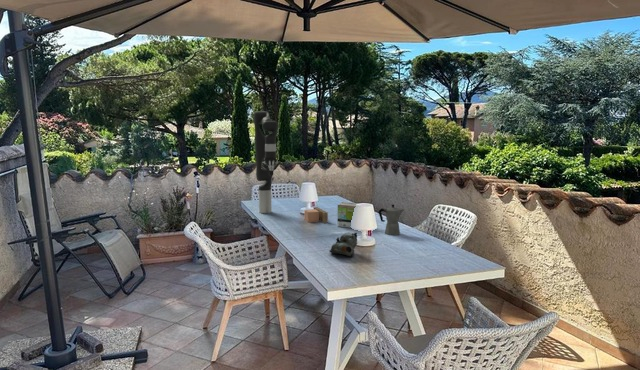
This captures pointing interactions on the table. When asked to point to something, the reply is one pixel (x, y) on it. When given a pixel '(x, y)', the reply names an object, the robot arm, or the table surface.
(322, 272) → the table surface
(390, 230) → the coffeepot
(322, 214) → the walnut board
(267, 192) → the robot arm
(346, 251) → the dark binoculars
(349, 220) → the tea box
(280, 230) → the table surface
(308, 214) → the terracotta block
